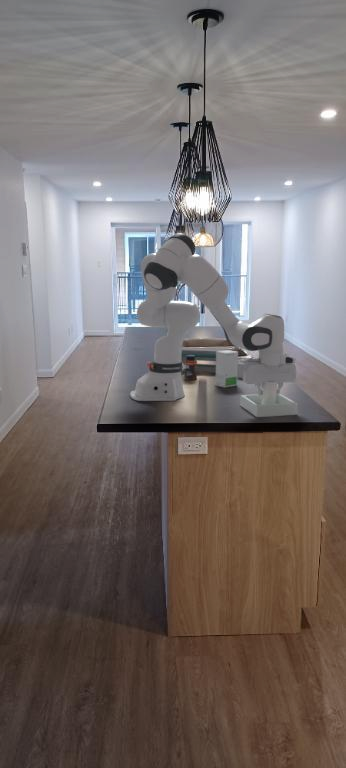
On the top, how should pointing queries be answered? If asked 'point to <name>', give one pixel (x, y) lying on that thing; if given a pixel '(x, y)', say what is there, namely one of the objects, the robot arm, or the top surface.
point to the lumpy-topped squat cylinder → (241, 367)
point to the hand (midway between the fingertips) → (268, 394)
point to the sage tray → (268, 406)
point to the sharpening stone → (202, 357)
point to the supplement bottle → (190, 368)
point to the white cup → (269, 393)
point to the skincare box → (226, 368)
